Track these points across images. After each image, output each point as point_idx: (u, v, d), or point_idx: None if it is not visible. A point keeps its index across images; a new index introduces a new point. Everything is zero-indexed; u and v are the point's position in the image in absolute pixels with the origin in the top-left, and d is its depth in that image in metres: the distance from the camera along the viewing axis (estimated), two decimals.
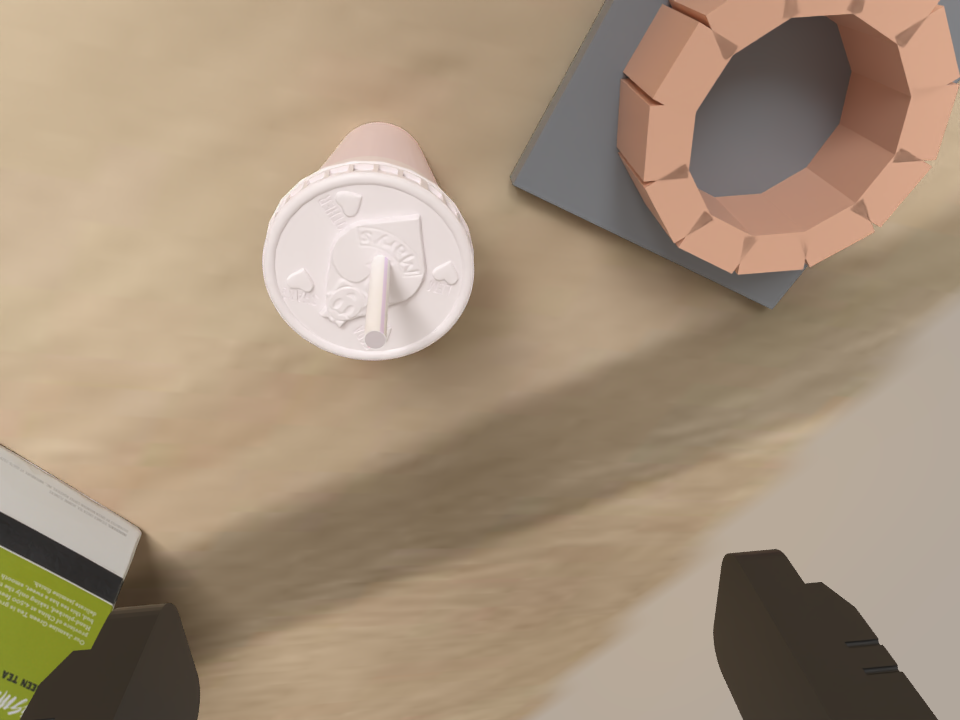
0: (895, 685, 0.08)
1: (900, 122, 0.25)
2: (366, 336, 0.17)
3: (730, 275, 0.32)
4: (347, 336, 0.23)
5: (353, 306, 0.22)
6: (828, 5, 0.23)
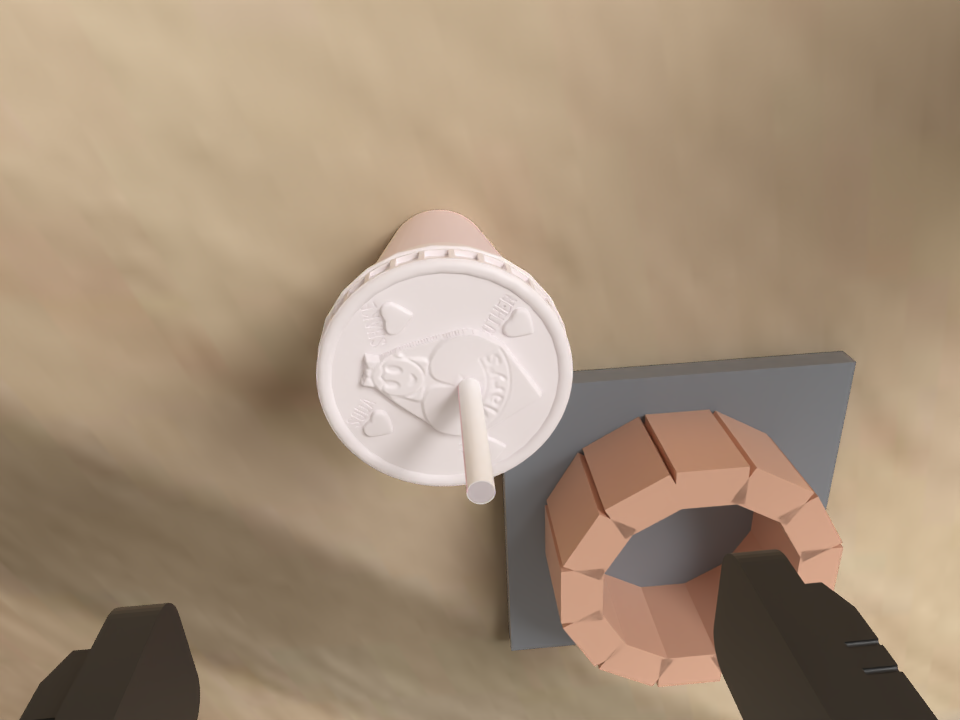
0: (895, 685, 0.08)
1: None
2: (481, 482, 0.14)
3: (522, 602, 0.32)
4: (351, 395, 0.18)
5: (400, 386, 0.17)
6: (799, 538, 0.27)
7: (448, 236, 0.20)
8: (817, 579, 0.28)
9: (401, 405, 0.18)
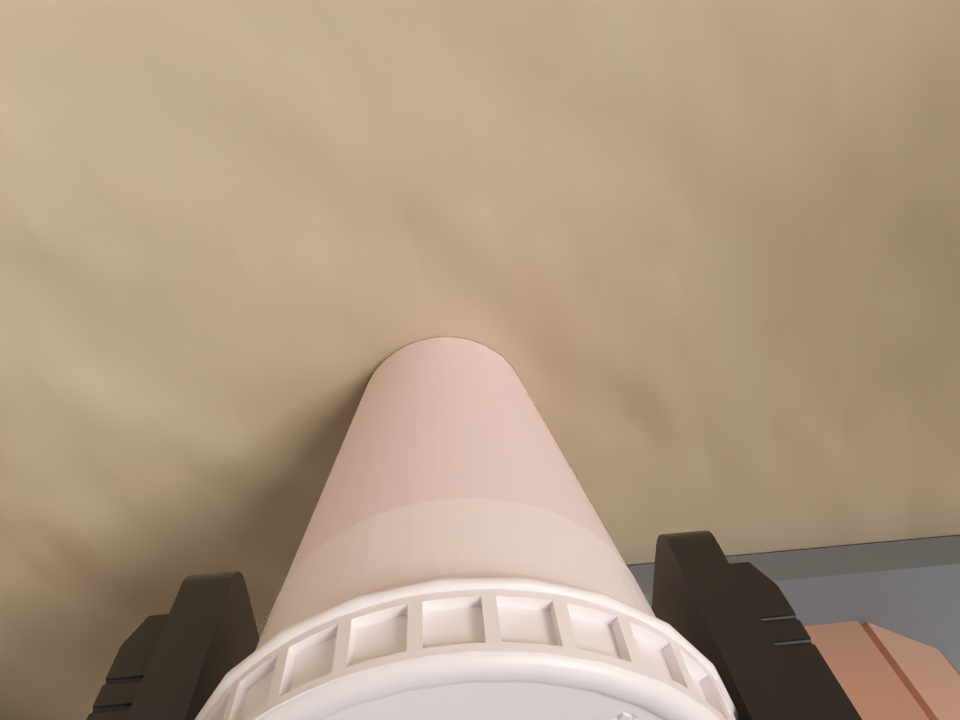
0: (806, 656, 0.09)
1: None
2: None
3: None
4: None
5: None
6: None
7: (469, 459, 0.10)
8: None
9: None
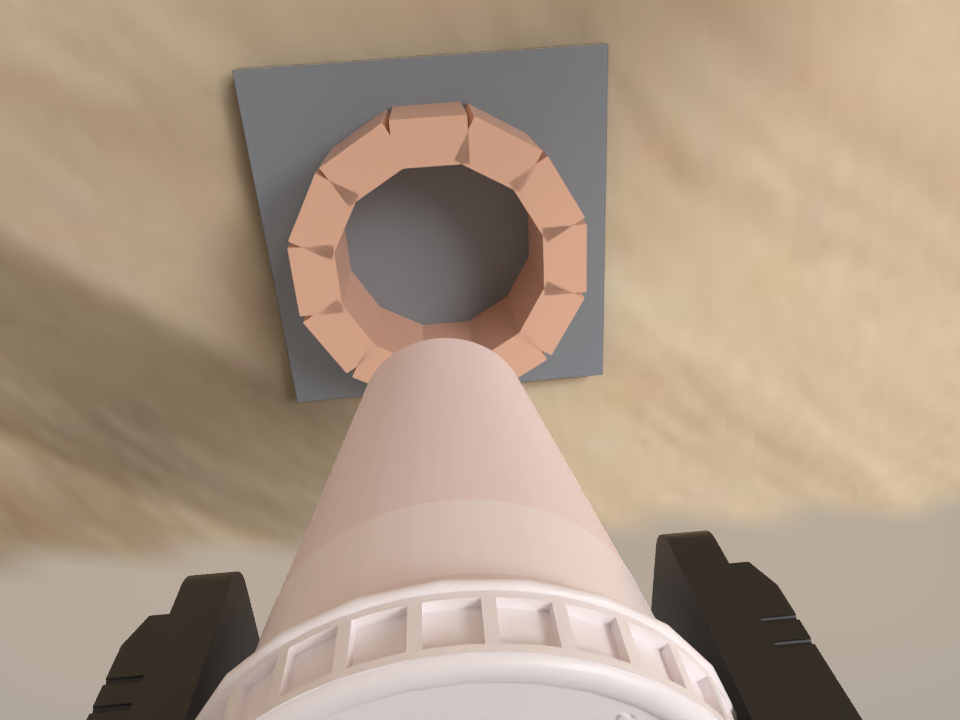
0: (805, 656, 0.09)
1: (498, 343, 0.28)
2: None
3: (299, 341, 0.31)
4: None
5: None
6: (537, 211, 0.25)
7: (469, 460, 0.10)
8: (566, 265, 0.26)
9: None
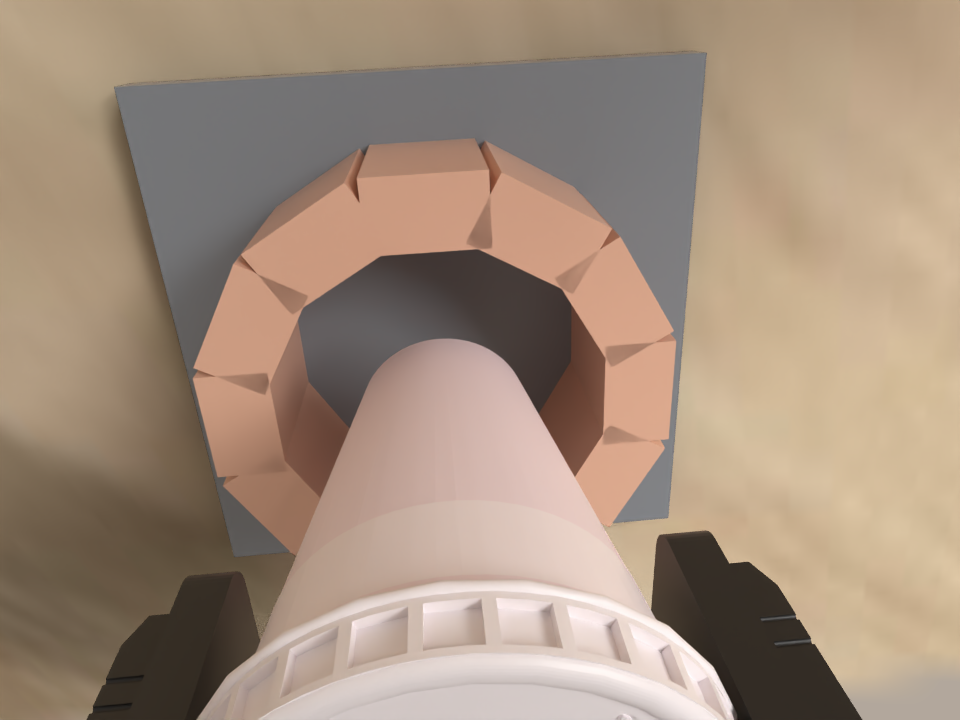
0: (805, 656, 0.09)
1: None
2: None
3: None
4: None
5: None
6: (598, 322, 0.16)
7: (469, 461, 0.10)
8: (640, 401, 0.17)
9: None
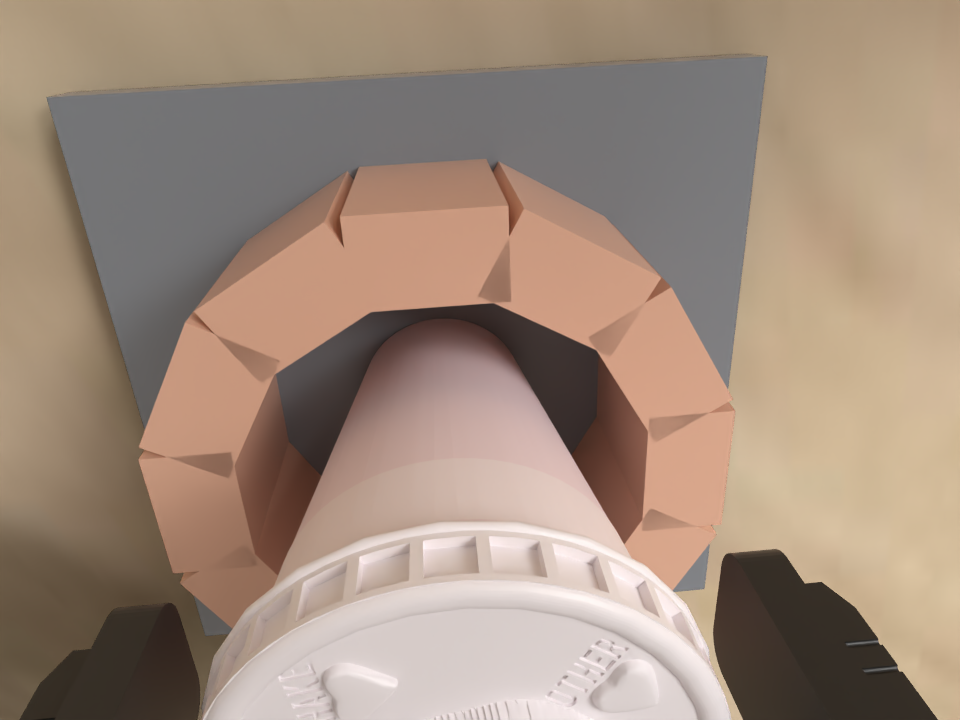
0: (895, 685, 0.08)
1: None
2: None
3: None
4: None
5: None
6: (640, 389, 0.13)
7: (466, 425, 0.11)
8: (688, 481, 0.14)
9: None
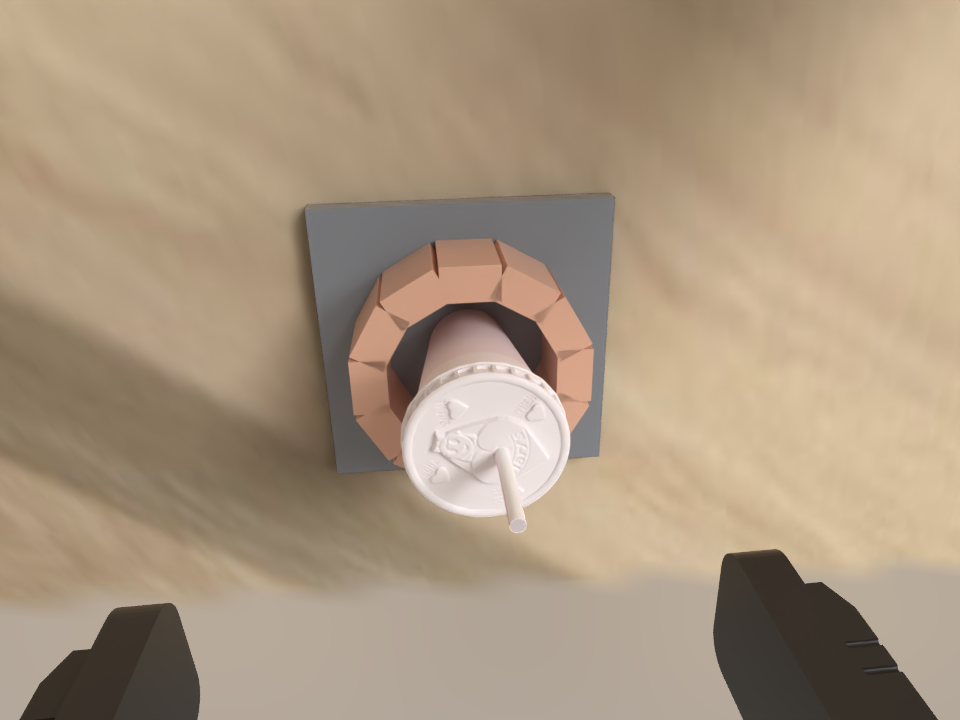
0: (895, 685, 0.08)
1: None
2: (518, 520, 0.23)
3: (342, 424, 0.36)
4: (424, 457, 0.26)
5: (457, 452, 0.26)
6: (554, 338, 0.31)
7: (484, 344, 0.29)
8: (575, 380, 0.32)
9: (457, 464, 0.26)
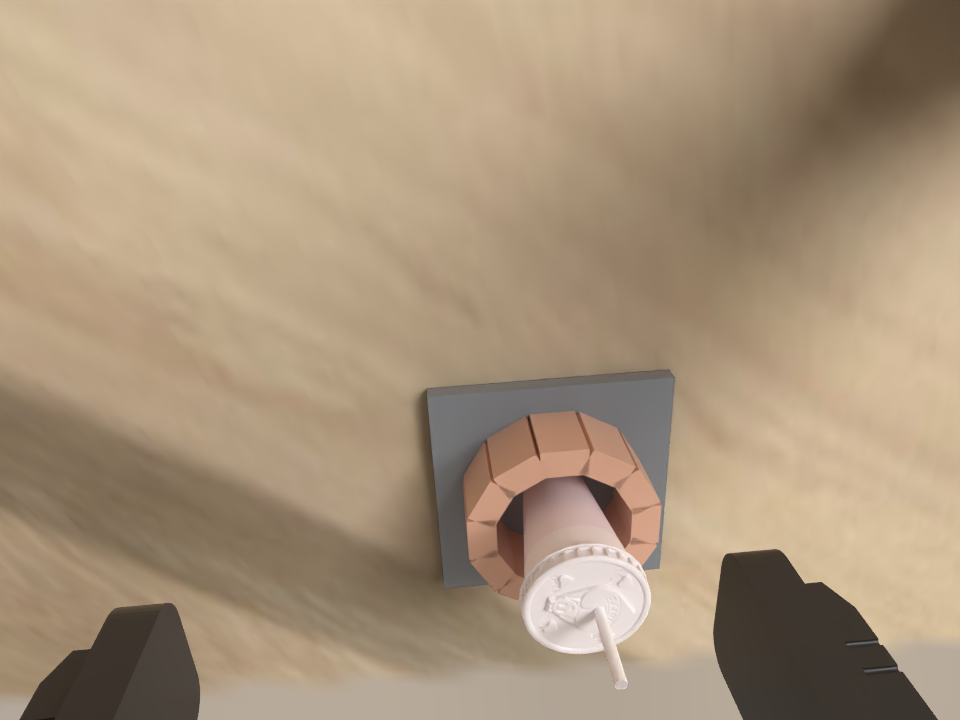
0: (895, 685, 0.08)
1: None
2: (621, 681, 0.30)
3: (450, 551, 0.45)
4: (538, 614, 0.34)
5: (565, 611, 0.34)
6: (629, 499, 0.39)
7: (578, 514, 0.37)
8: (646, 528, 0.40)
9: (564, 619, 0.34)
